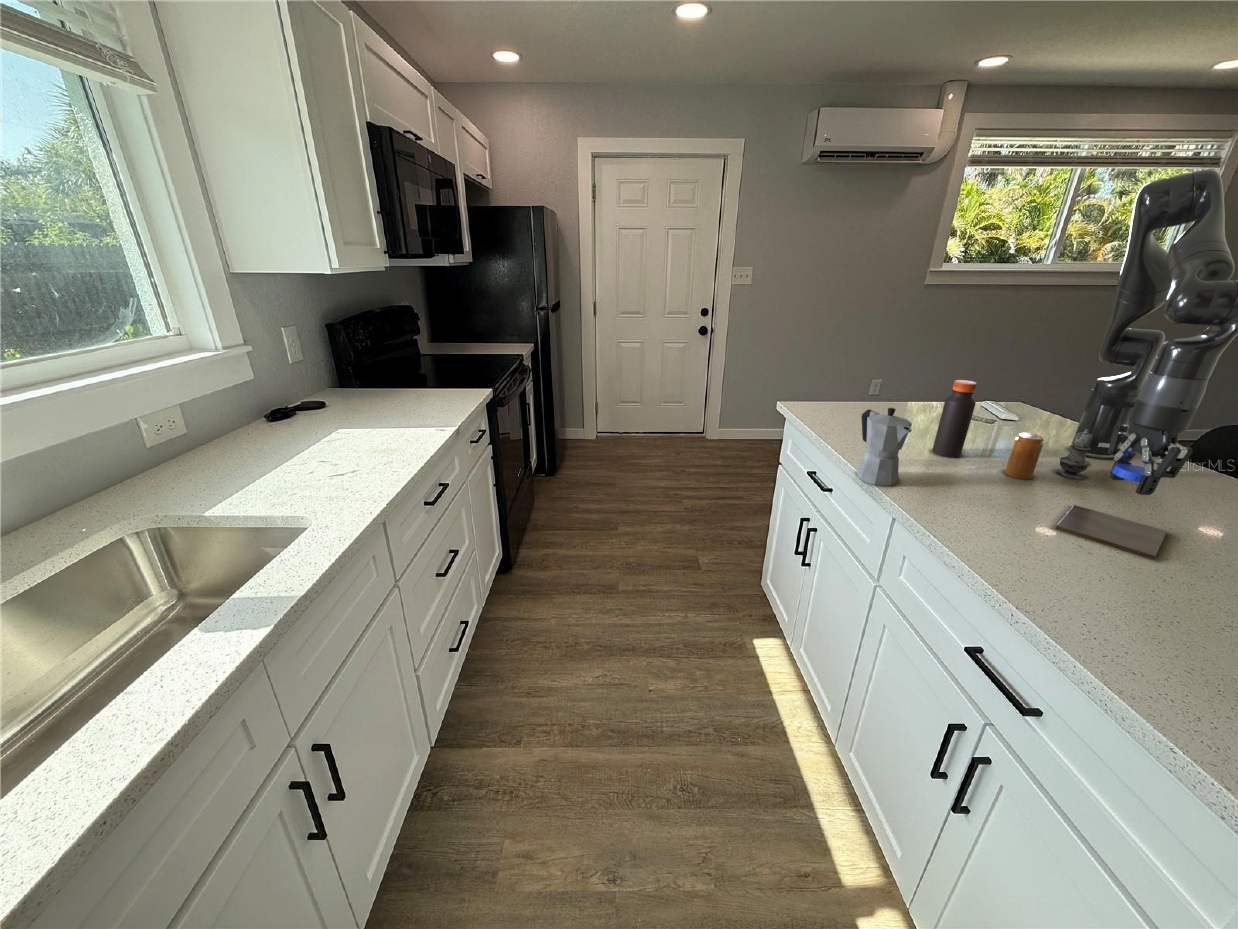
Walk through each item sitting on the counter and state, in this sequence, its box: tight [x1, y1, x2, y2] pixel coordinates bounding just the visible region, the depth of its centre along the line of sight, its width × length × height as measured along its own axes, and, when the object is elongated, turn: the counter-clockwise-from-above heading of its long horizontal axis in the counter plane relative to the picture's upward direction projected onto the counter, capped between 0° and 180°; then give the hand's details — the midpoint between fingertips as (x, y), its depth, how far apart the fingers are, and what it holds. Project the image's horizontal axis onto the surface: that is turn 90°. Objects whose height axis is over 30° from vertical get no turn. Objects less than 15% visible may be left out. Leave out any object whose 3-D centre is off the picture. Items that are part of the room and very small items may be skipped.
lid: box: [1111, 463, 1145, 483], centre depth 92 cm, size 6×6×2 cm
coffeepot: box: [855, 407, 913, 487], centre depth 118 cm, size 15×9×18 cm, turn 13°
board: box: [1054, 504, 1167, 560], centre depth 97 cm, size 14×14×1 cm
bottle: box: [932, 379, 978, 458], centre depth 132 cm, size 7×7×20 cm
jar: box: [1004, 432, 1045, 480], centre depth 120 cm, size 5×5×10 cm
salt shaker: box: [1055, 429, 1093, 480], centre depth 120 cm, size 6×6×12 cm
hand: (1129, 486), depth 93 cm, fingers closed on lid, 5 cm apart
